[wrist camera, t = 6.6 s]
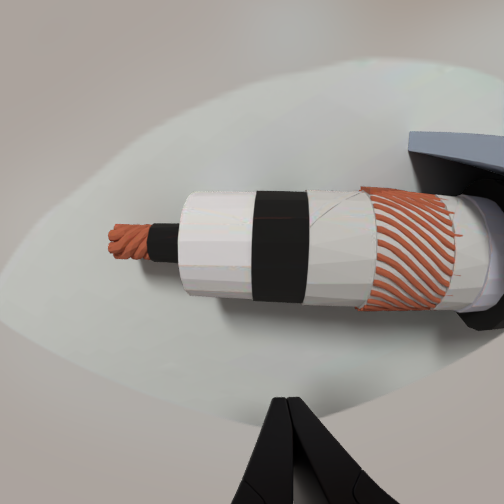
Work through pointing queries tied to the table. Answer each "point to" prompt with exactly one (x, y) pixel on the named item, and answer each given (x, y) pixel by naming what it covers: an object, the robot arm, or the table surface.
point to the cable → (338, 249)
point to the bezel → (461, 148)
